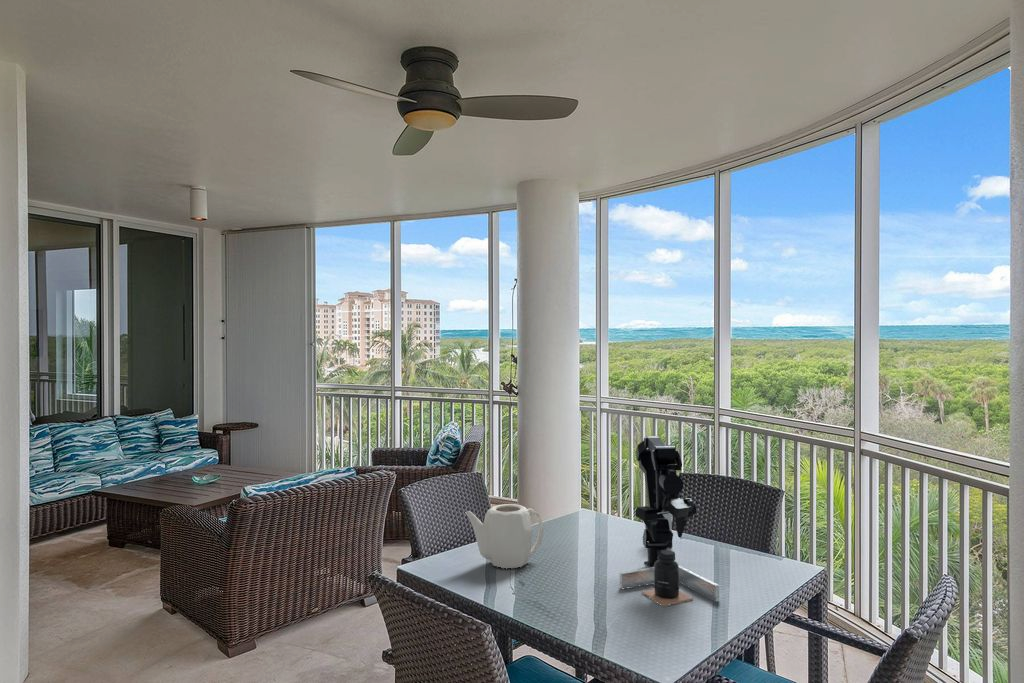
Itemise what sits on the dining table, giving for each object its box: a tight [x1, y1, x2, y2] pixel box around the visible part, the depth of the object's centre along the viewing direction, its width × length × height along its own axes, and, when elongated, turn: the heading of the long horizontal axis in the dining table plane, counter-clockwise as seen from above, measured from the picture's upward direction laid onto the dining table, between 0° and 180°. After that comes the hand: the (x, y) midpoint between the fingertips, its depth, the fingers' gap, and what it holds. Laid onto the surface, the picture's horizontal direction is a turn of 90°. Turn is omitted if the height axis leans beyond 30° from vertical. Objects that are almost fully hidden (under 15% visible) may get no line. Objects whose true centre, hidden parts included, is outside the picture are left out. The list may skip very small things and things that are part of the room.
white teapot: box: [464, 503, 544, 570], centre depth 203 cm, size 16×27×19 cm, turn 105°
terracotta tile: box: [641, 589, 693, 607], centre depth 173 cm, size 10×10×1 cm
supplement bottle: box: [653, 549, 680, 599], centre depth 173 cm, size 7×7×12 cm
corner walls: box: [619, 564, 720, 603], centre depth 174 cm, size 20×20×4 cm
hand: (667, 539), depth 184 cm, fingers open, 9 cm apart
